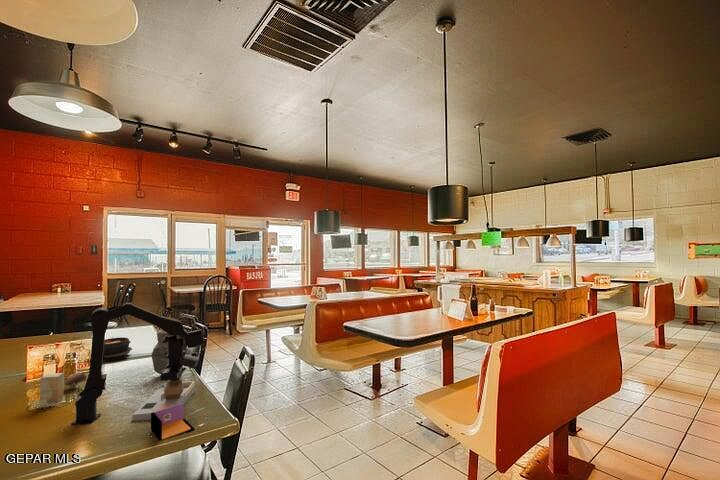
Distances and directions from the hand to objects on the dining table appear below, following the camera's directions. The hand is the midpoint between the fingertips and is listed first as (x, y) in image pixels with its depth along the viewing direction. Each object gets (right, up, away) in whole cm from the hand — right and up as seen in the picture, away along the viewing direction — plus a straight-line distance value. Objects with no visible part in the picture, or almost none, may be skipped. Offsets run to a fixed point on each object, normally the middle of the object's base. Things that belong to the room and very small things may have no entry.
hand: (177, 388), depth 141 cm
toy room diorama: (+11, -5, -24) cm, 27 cm away
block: (0, -1, -3) cm, 3 cm away
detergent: (-21, -6, +30) cm, 37 cm away
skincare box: (-48, -6, -4) cm, 49 cm away
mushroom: (-53, -6, +13) cm, 55 cm away
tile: (+2, -5, -12) cm, 13 cm away
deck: (-2, -5, -5) cm, 7 cm away
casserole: (-71, -7, +62) cm, 95 cm away
